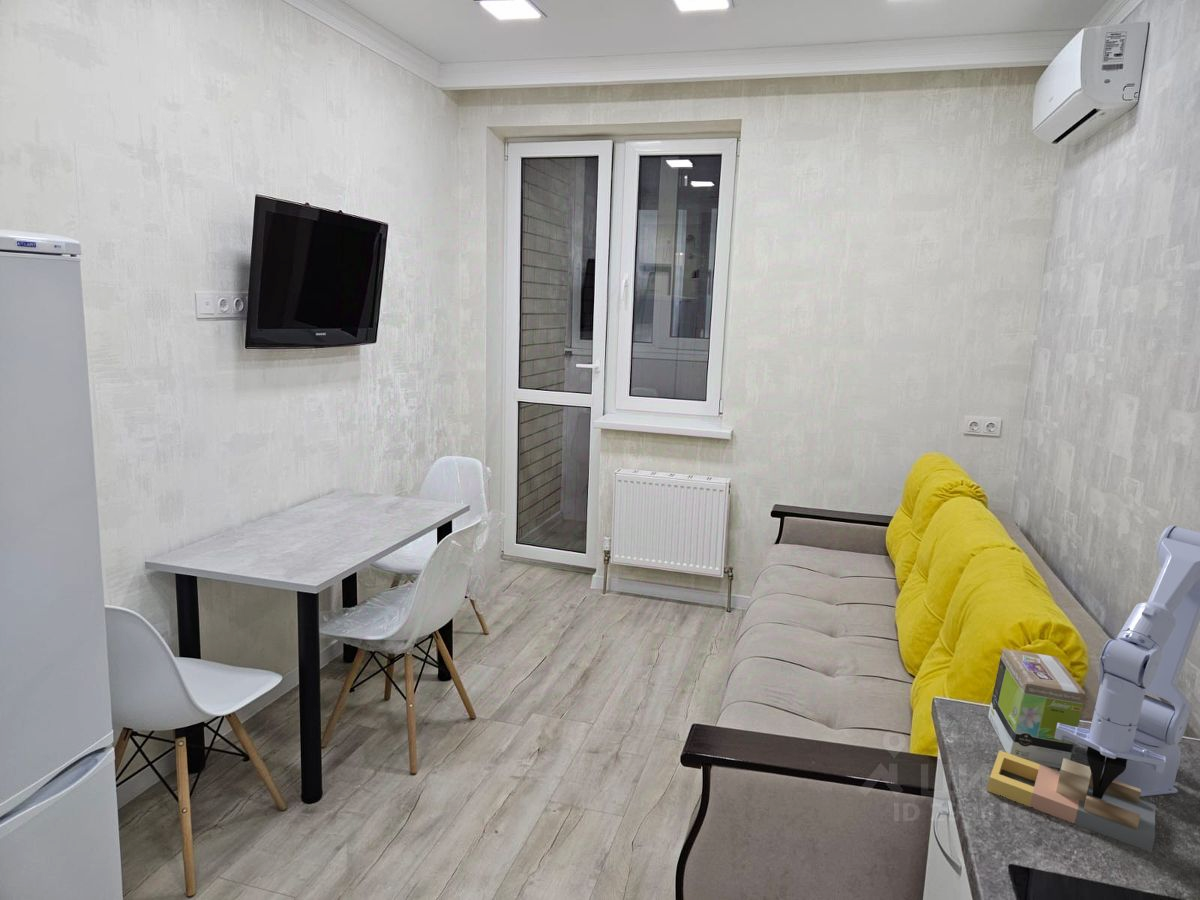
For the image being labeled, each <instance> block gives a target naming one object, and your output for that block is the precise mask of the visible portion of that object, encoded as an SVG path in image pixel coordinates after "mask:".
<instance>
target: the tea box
mask: <svg viewBox="0 0 1200 900" xmlns="http://www.w3.org/2000/svg"><path fill="white" fill-rule="evenodd" d="M1064 665H1065V664H1063V662H1061V661H1060V659H1059V658H1058V657H1057V656H1052V655H1048V654H1040V653H1035V652H1028V651H1022V650H1015V649H1009V648H1002V650H1001V654H1000V658H999V662H998V667H997V668H998V669H997V673H996V677H995V683H994V688H993V691H992V697H991V702H990V704H989V705H990V706H989V711H988V716H987V717H988V719H989V721H990V723H991V726H992V727H993V729H994V732H995V733H996V735H997V737H998V739H999V741H1000V743H1001V745H1002V747H1003V748H1004V752H1006V753H1009V754H1012V755H1015V756H1018V757H1020V758H1023V759H1026V760H1029V761H1032V762H1035V763H1038V764H1040V765H1043V766H1046V767H1049V768H1053V769H1059V770H1061V766H1062V762H1063V758H1065V759H1068V760H1071V758H1072V754H1073V749H1074V745H1075V743H1073V742H1070V741H1067V740H1064V739H1062V740H1058V739H1055V738H1054V737H1055V732H1056V728H1057V723H1061V724H1065V725H1069V726H1074V727H1079V725H1080V720H1081V716H1082V712H1083V709H1084V705H1085V704H1084V703H1085V701H1086V693H1085V690H1084V689H1083V688H1082V687H1081V685H1080V684H1079V683H1078V682H1077V680H1076V679H1075V678H1074V677H1073V676H1072V674H1071V673H1070V671H1068V669H1067V668H1066V666H1064Z"/></svg>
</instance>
